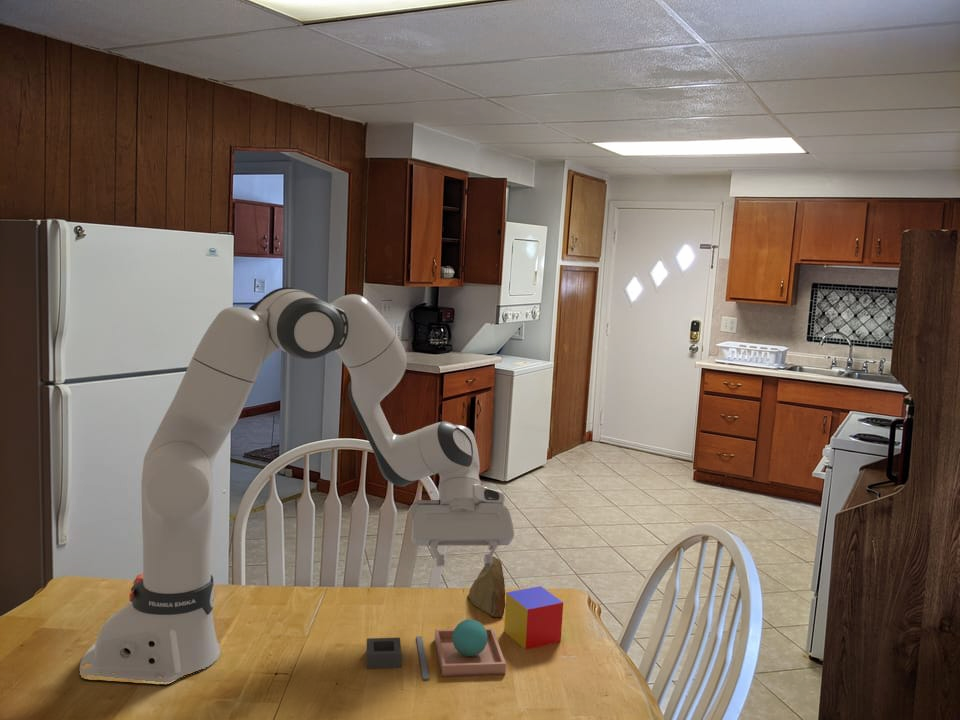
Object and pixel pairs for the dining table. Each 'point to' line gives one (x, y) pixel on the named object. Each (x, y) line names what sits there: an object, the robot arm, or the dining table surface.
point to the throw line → (422, 658)
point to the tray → (462, 665)
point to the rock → (489, 590)
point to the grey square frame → (383, 652)
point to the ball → (469, 637)
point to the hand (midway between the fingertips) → (464, 565)
